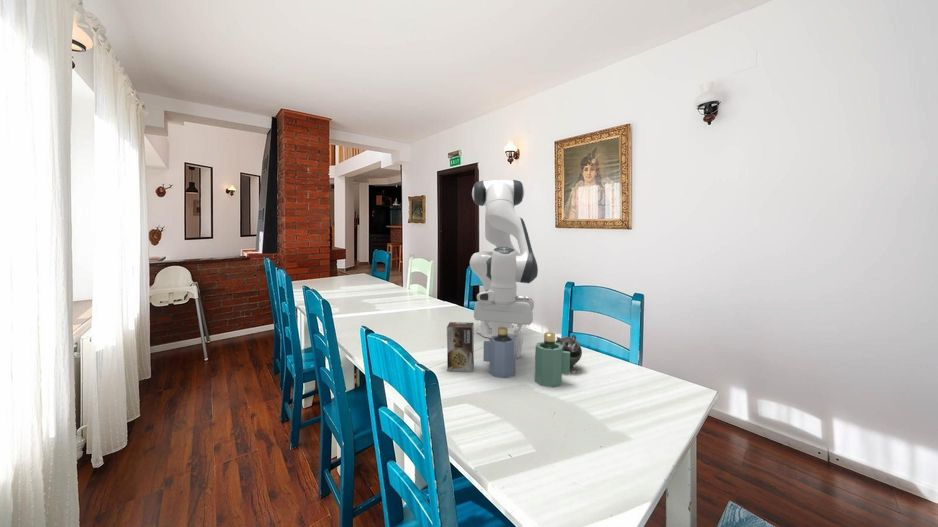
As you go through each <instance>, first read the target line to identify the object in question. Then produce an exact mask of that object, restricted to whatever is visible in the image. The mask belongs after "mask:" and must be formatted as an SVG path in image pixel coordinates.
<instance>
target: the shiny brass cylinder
mask: <svg viewBox="0 0 938 527" xmlns="http://www.w3.org/2000/svg"><path fill="white" fill-rule="evenodd" d="M543 334H544V335H543V336H544V338H543V342H544V343H545V344H548V349H551V345H553V344H555V341H556V334H555V333H554V332H549V331H547V332H544V333H543Z"/></svg>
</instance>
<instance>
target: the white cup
mask: <svg viewBox="0 0 938 527" xmlns="http://www.w3.org/2000/svg"><path fill="white" fill-rule="evenodd" d="M517 329H518V327H516V328H508V336H511V337H513V338H515V339H516V353H515V359H520V358H521V357H522V351H523V344H524V343H523V341H524V330H523V329H522V328H521V329H520V330H519V336H518V337H516V336H514V331H515V330H517Z"/></svg>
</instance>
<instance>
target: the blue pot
mask: <svg viewBox="0 0 938 527" xmlns="http://www.w3.org/2000/svg"><path fill="white" fill-rule="evenodd" d="M515 353H516V339H515V338H513V337H511V336H508V337H506V338H504V342H501V338H500V337H498V336H492V337H491V338H489V340H484V341H483V362H486V363H489V364H488V366H489V368H488V373H489V374H490V376H491V375H492V376H493V377H496V378H502V379H505V378H506V379H507V378H510V377H514V375H515V373H516V358H515Z"/></svg>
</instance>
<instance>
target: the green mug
mask: <svg viewBox="0 0 938 527" xmlns="http://www.w3.org/2000/svg"><path fill="white" fill-rule="evenodd" d="M534 360H535V362H534V383H536V384H538V385H539V386H542V387H548V388H554V387H559V386H561V385H562V381H563V375H570V373H571V372H570V352H568V351H563V345H561V344H558V343H556V342H555V344H553V345H551V349H548V344H545V343H544V341H539V342H536V345H535V357H534Z"/></svg>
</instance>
